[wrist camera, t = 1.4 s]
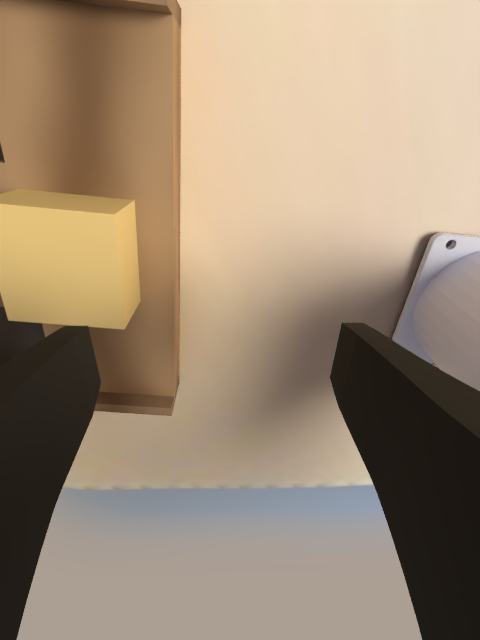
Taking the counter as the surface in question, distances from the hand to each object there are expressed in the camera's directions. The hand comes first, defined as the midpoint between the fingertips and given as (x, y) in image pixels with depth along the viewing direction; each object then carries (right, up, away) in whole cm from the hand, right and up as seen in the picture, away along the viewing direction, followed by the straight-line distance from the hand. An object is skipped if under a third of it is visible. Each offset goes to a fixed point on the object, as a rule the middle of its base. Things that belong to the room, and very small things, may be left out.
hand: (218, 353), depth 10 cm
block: (-7, +4, +6) cm, 10 cm away
